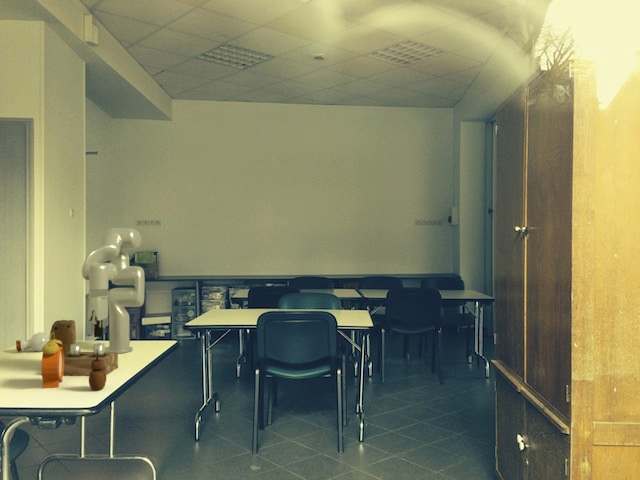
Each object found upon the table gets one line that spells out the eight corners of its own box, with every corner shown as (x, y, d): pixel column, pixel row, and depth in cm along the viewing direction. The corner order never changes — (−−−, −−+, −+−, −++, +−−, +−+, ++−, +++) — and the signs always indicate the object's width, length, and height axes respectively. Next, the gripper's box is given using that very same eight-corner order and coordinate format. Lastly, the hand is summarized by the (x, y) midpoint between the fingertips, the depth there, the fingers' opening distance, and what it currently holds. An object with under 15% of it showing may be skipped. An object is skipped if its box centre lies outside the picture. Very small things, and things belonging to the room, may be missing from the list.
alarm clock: (58, 388, 207) (58, 336, 207) (40, 389, 205) (40, 337, 205) (64, 379, 220) (64, 330, 219) (47, 380, 218) (47, 330, 218)
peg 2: (96, 359, 233) (96, 343, 233) (105, 359, 233) (105, 343, 233) (92, 361, 229) (92, 345, 229) (101, 361, 229) (101, 345, 229)
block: (76, 362, 248) (76, 319, 248) (74, 366, 241) (74, 321, 241) (50, 364, 245) (50, 320, 244) (47, 368, 237) (47, 322, 237)
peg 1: (73, 359, 233) (73, 342, 233) (82, 359, 233) (82, 343, 233) (68, 361, 229) (68, 344, 229) (78, 361, 229) (78, 344, 229)
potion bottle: (52, 353, 273) (18, 359, 268) (53, 339, 280) (20, 344, 275) (48, 341, 267) (14, 346, 263) (49, 327, 274) (16, 332, 270)
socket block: (68, 367, 240) (68, 351, 240) (117, 367, 239) (117, 351, 239) (52, 375, 226) (52, 358, 226) (105, 375, 225) (104, 358, 225)
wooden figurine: (92, 386, 209) (92, 348, 209) (108, 386, 210) (108, 347, 210) (86, 392, 203) (86, 351, 202) (102, 391, 203) (102, 351, 203)
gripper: (97, 291, 238) (97, 333, 238) (82, 295, 223) (81, 339, 223) (114, 291, 238) (114, 333, 238) (100, 295, 223) (100, 339, 223)
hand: (98, 336), depth 231 cm, fingers closed
